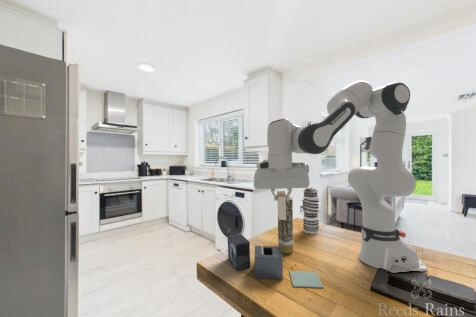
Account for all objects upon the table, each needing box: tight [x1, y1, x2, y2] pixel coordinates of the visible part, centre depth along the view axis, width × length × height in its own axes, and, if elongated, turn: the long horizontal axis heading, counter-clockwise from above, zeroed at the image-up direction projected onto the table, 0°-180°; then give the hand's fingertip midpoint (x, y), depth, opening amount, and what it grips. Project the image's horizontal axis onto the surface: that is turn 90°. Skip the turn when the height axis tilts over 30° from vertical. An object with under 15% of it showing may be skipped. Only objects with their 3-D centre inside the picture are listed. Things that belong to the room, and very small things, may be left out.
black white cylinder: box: [302, 187, 320, 235], centre depth 121 cm, size 9×9×25 cm
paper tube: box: [277, 196, 294, 255], centre depth 96 cm, size 7×7×25 cm
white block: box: [276, 189, 287, 220], centre depth 77 cm, size 3×5×10 cm, turn 174°
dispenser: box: [254, 245, 284, 280], centre depth 79 cm, size 10×9×8 cm
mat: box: [288, 270, 324, 289], centre depth 74 cm, size 10×9×1 cm
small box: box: [227, 232, 251, 272], centre depth 87 cm, size 11×6×10 cm, turn 22°
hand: (281, 200), depth 77 cm, fingers closed on white block, 2 cm apart
